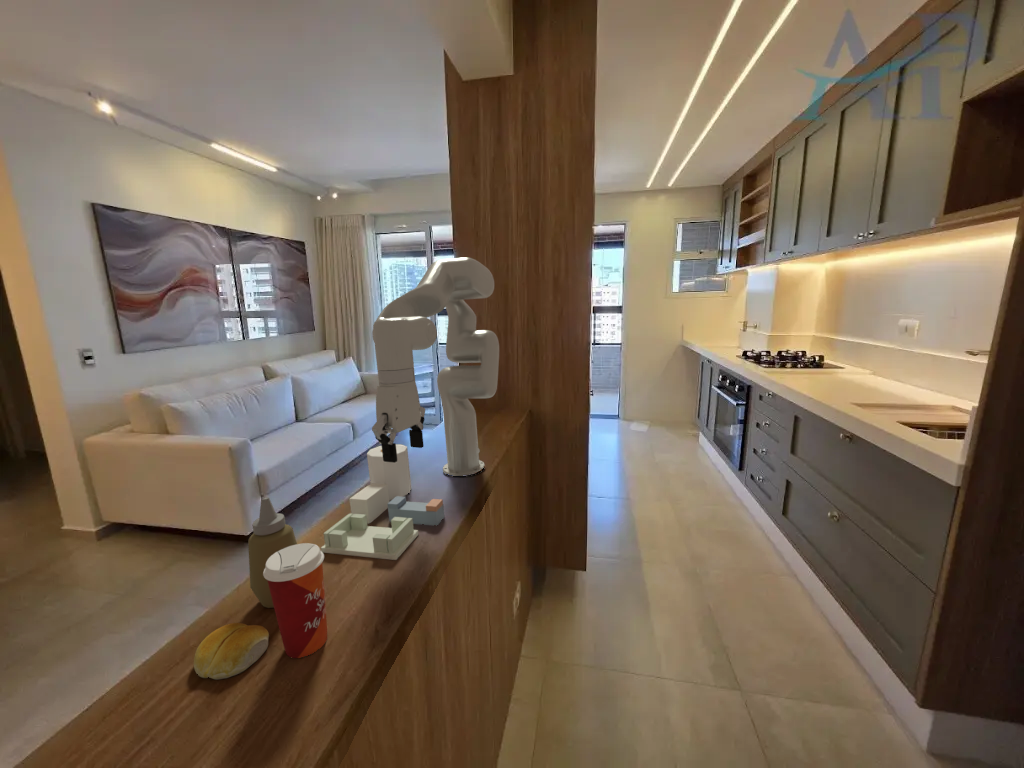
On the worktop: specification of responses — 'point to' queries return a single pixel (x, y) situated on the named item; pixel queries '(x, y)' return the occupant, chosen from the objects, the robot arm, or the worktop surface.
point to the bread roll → (230, 650)
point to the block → (370, 501)
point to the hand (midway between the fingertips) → (404, 454)
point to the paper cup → (298, 597)
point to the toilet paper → (390, 471)
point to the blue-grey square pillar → (417, 510)
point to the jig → (369, 537)
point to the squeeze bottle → (266, 547)
